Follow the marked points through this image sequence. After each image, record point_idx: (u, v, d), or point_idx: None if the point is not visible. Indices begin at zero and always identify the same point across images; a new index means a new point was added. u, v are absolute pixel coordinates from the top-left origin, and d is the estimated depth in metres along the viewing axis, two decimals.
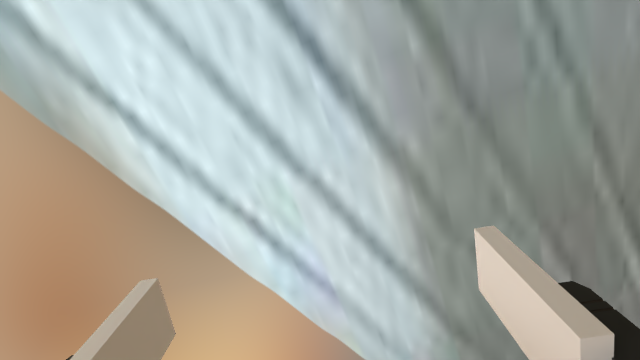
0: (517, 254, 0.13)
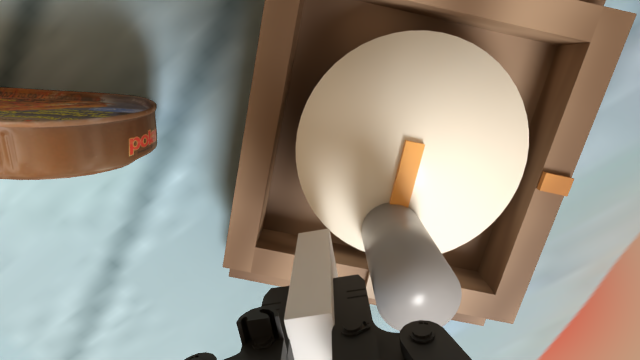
0: (324, 252, 0.15)
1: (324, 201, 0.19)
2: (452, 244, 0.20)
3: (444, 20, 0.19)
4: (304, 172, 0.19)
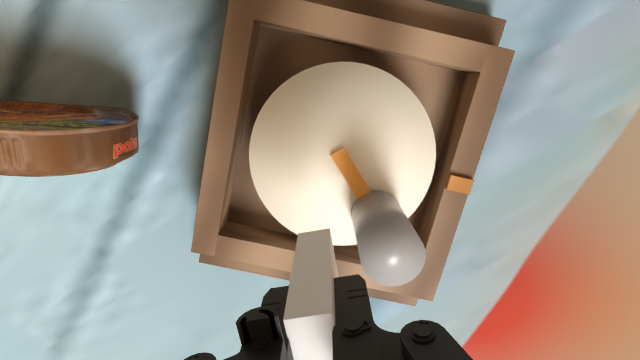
0: (324, 252, 0.15)
1: None
2: (423, 188, 0.23)
3: (372, 51, 0.24)
4: (290, 224, 0.24)
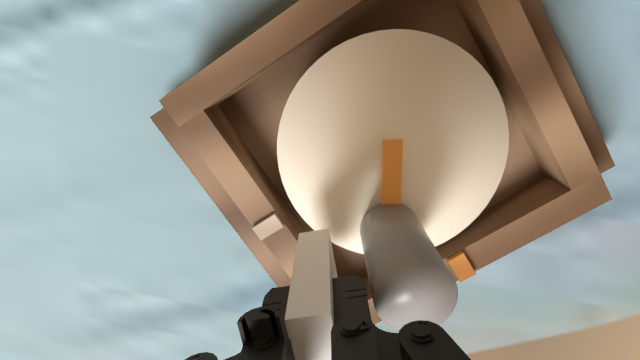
0: (323, 252, 0.15)
1: (318, 214, 0.19)
2: (453, 231, 0.19)
3: (496, 84, 0.20)
4: (292, 191, 0.19)
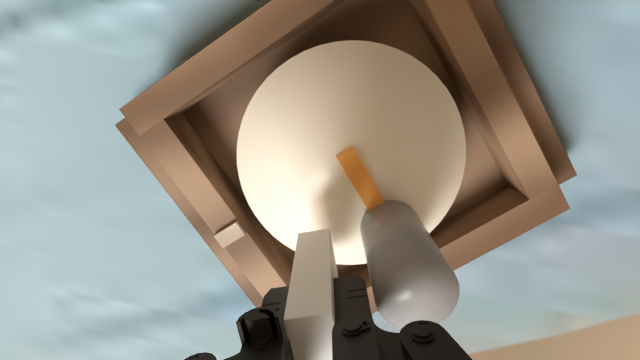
0: (324, 252, 0.15)
1: None
2: (449, 199, 0.19)
3: (458, 93, 0.20)
4: (286, 239, 0.20)
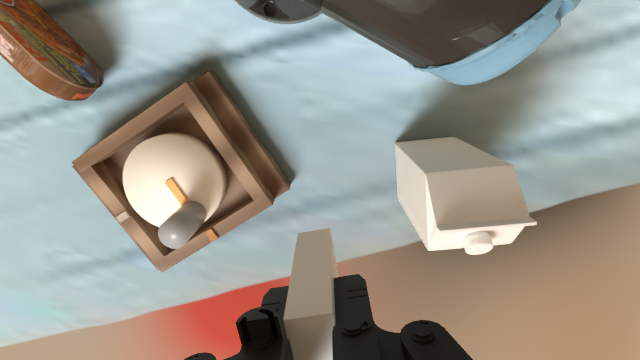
0: (324, 252, 0.15)
1: (163, 222, 0.44)
2: (217, 200, 0.43)
3: None
4: (148, 218, 0.44)
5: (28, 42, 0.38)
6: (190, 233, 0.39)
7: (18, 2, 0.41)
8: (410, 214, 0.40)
